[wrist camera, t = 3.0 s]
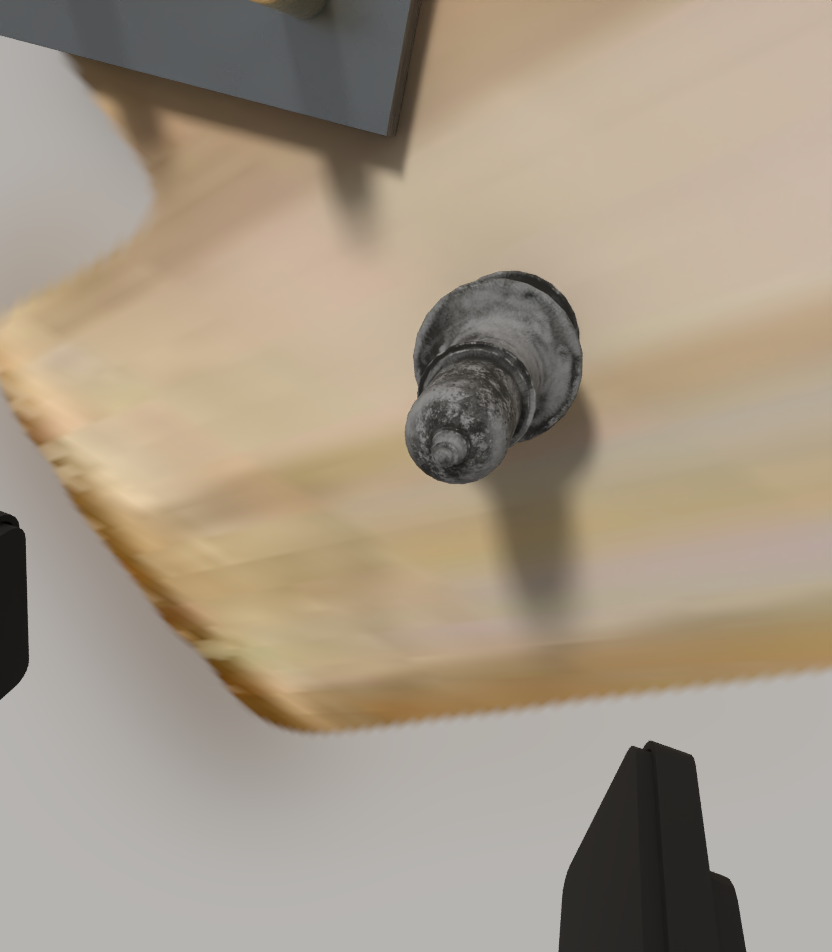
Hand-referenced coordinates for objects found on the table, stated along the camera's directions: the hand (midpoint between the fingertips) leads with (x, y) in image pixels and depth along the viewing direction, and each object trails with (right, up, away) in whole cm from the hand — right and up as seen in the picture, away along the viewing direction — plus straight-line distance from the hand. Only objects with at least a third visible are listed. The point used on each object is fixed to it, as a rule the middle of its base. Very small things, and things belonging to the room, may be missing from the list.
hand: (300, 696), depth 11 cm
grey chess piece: (+5, +9, +18) cm, 20 cm away
